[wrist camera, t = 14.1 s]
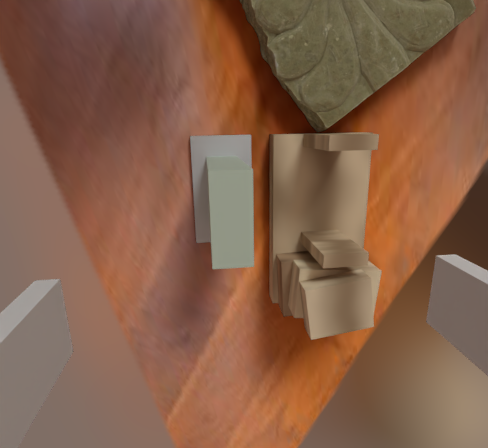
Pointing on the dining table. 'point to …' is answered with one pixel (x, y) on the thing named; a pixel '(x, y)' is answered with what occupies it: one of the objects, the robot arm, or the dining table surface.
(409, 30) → the decorative tile
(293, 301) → the block
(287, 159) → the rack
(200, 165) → the felt mat
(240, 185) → the pale green block
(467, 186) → the dining table surface
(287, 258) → the offcut bottom
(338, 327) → the offcut top
